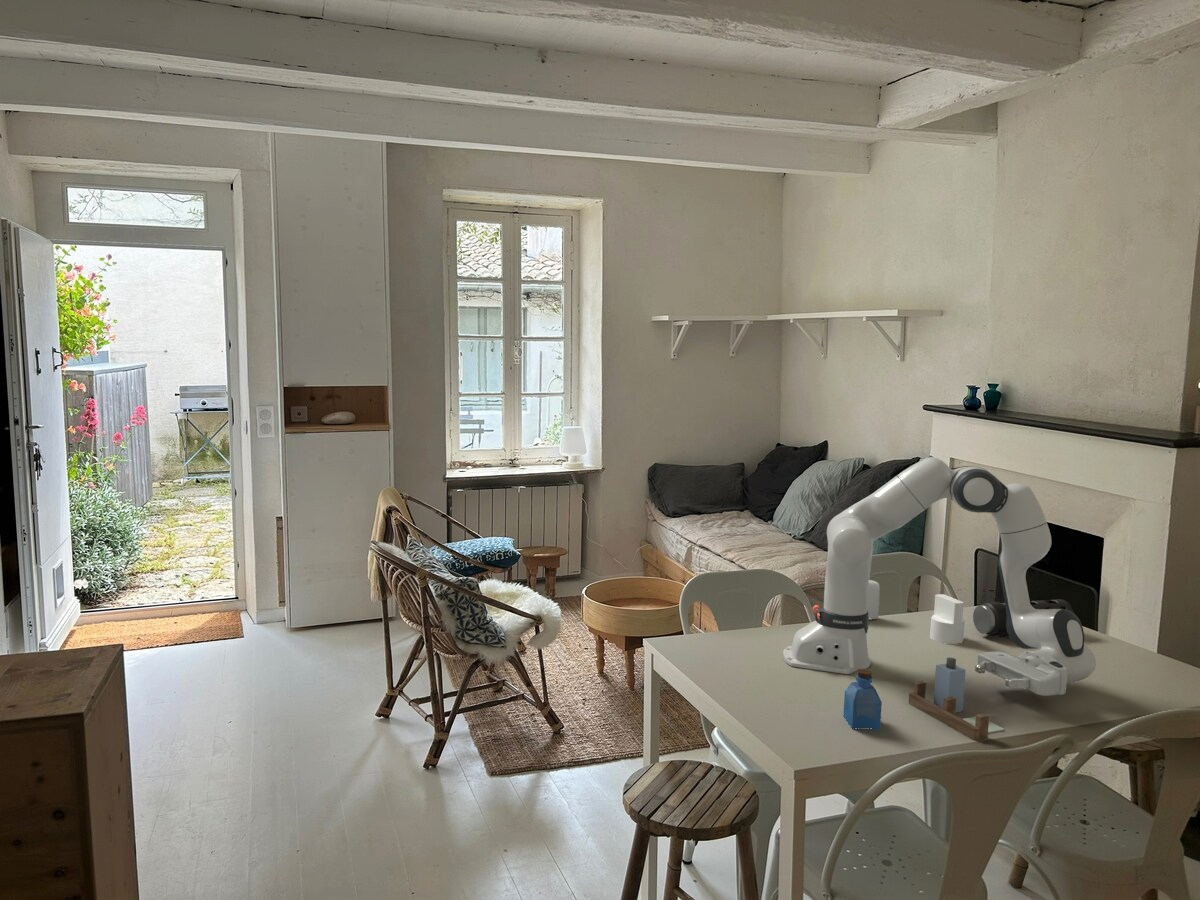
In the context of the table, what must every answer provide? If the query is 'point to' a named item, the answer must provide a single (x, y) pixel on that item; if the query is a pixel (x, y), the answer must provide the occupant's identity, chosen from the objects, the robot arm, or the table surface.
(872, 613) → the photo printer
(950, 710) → the comb rack
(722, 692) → the table surface
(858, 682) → the perfume bottle
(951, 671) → the blue block with peg
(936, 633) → the base with upright slab
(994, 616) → the muzzle brake
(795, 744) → the table surface
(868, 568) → the robot arm
